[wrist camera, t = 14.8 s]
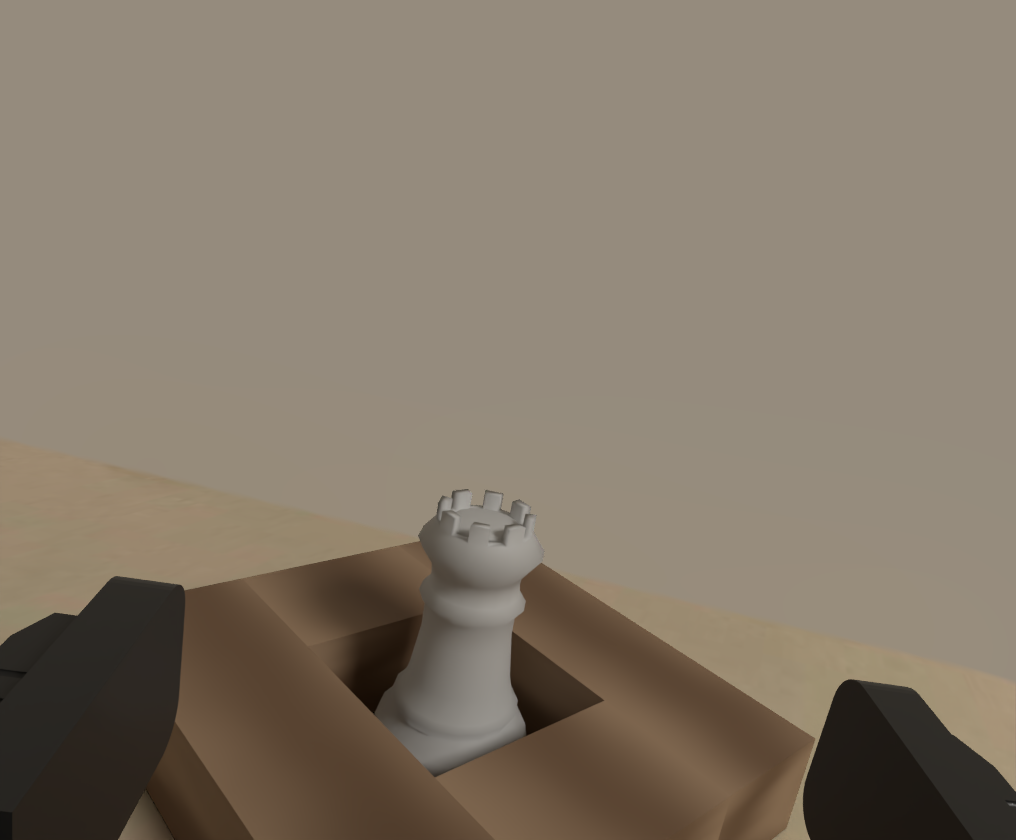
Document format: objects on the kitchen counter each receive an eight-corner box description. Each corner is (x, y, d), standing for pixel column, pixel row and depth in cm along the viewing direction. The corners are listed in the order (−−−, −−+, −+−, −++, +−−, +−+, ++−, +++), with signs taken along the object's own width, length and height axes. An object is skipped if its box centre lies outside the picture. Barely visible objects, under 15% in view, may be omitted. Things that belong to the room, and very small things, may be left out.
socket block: (360, 1162, 14) (382, 1031, 13) (95, 701, 24) (99, 608, 23) (786, 828, 23) (815, 738, 23) (473, 595, 33) (485, 527, 32)
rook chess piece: (403, 700, 26) (440, 462, 24) (539, 749, 25) (591, 504, 23) (331, 791, 22) (368, 513, 20) (490, 855, 21) (548, 568, 18)
